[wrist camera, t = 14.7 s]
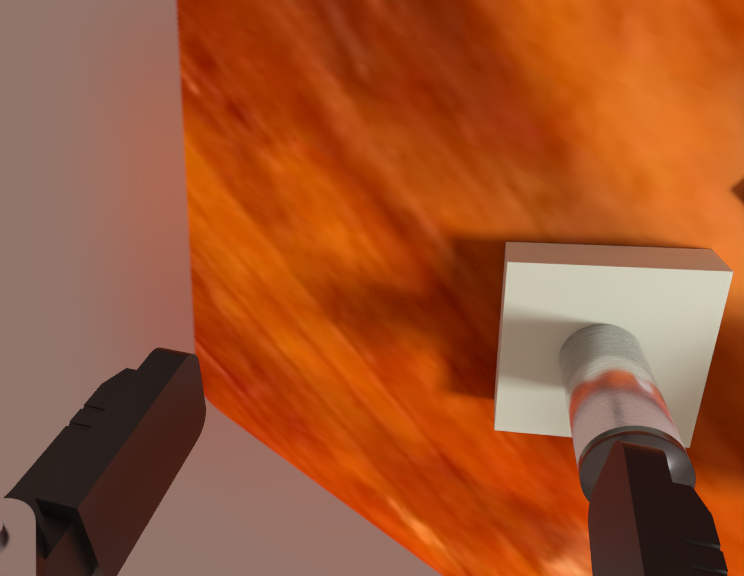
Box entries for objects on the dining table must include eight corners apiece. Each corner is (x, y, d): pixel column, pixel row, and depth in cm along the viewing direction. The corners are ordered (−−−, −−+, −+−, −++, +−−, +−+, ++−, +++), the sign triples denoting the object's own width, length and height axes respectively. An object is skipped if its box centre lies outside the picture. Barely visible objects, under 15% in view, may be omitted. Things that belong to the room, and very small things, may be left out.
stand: (505, 241, 43) (507, 262, 40) (712, 249, 41) (733, 271, 37) (494, 399, 49) (494, 429, 46) (674, 414, 47) (689, 447, 43)
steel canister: (564, 321, 41) (588, 432, 30) (650, 327, 40) (707, 444, 29) (554, 388, 43) (573, 513, 33) (635, 396, 42) (682, 527, 32)
